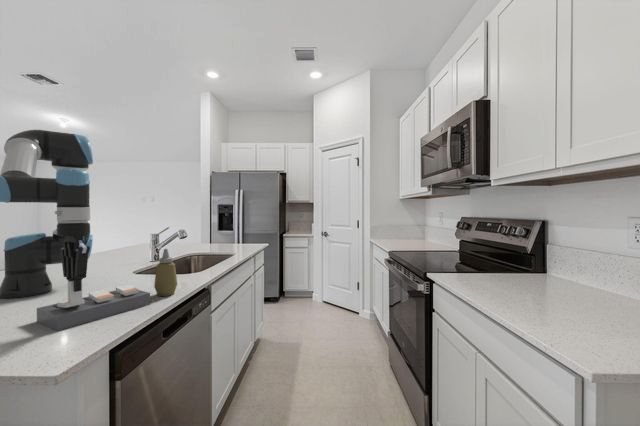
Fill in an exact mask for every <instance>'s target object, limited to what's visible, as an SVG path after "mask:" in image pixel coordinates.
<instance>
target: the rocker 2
mask: <svg viewBox="0 0 640 426" xmlns="http://www.w3.org/2000/svg"><path fill="white" fill-rule="evenodd" d="M115 290H116V291H117V292H119V293H121V294H123V295H124V296H127V295H131V294H135V293H139V290H140V289H139V288H137V287H135V286H134V285H132V284H125V285H121V286H120V285H119V286H116V287H115Z"/></svg>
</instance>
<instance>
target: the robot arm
mask: <svg viewBox="0 0 640 426" xmlns="http://www.w3.org/2000/svg"><path fill="white" fill-rule="evenodd" d="M3 151H4V153H5V157H4V160H3V164H2V167H1V171H0V203H6V204H9V203H44V204H45V203H46V204H47V203H48V204H52V203H53V204H55V203H56V210H55V211H54V214H55V215H56V221H57V222H56V223H57V224H56V229H54V230H53V231H52V235H50V236H47V234H46V233H45V232H39V233H28V234H23V235H16V236H12V237H8V238H6V239H5V241H4V249H3V252H4V278H3V280H2V282H1V284H0V298H1V299H16V298H18V299H19V298H24V297H25V298H26V297H31V296H32V297H33V296H36V295H37V296H38V295H41V294H46V293H48V292H50V291H52V290H53V283H52V281H51V278H50V277H49V275H48V272H47V266H49V265H56V264H57V265H58V264H61V265H62V272H63V273H62V274H63V277H64V278H65V279H66V281H67V300H68V302H70V303H71V304H72V303H76V302H81V301H82V298H83V279H87V274H88V273H87V271H88V261H89V259H90V257H91V254H92V253H91V252H92V250H93V249H92V248H93V240H94V238H93V234H91V224H90V222H89V221H91V207H90V183H91V180H90V174H89V172H88V171H87V170H89V168H90V167H89V166H90V165H93V164H94V159H93V152H92V151H93V150H92V146H91V141H90V139H89V138H88V137H87V136H86V135H81V134H78V133H77V134H75V133H67V132H61V131H52V130H44V129H28V130H23V131H20V132H18V133H15V134H13V135H12V136H10V137H9V138H8V139H7V140H6V141H5V143H4V146H3ZM38 161H45V162H47V161H48V162H51V167H52V168H54V169H55V171H56V172H55V173H56V174H55V176H56V177H55V178H49V177H36V173H37V164H38Z"/></svg>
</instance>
